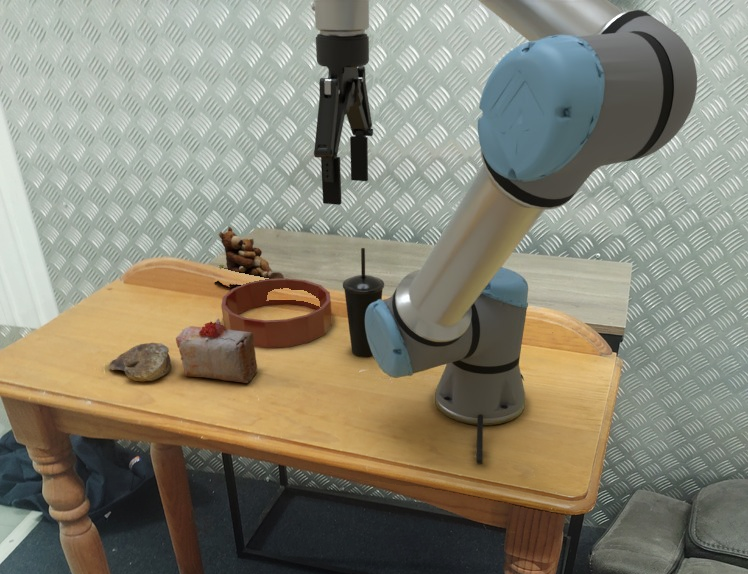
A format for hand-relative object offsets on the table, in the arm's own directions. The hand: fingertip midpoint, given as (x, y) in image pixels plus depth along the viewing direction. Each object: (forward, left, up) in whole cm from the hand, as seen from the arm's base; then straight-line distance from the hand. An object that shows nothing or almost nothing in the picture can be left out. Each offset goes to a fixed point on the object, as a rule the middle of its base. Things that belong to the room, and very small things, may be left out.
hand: (346, 191), depth 113 cm
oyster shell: (-11, +38, -32) cm, 51 cm away
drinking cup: (+8, 0, -32) cm, 33 cm away
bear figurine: (+35, +37, -32) cm, 60 cm away
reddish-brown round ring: (+15, +21, -32) cm, 41 cm away
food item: (-8, +23, -32) cm, 40 cm away
